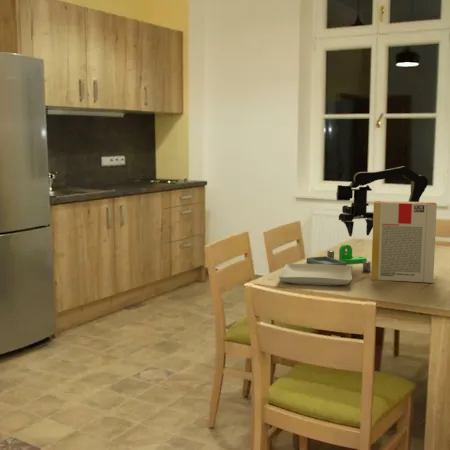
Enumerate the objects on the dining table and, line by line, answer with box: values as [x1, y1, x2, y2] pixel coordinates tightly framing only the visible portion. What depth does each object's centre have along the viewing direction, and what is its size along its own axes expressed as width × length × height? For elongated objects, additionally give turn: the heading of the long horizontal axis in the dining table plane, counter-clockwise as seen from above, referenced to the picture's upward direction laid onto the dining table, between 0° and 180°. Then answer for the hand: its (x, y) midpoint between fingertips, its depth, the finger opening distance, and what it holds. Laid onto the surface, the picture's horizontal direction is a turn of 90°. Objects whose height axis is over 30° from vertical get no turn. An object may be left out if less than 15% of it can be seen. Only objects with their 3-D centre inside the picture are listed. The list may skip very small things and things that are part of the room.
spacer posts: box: [326, 249, 372, 273], centre depth 267 cm, size 19×31×4 cm, turn 24°
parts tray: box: [306, 255, 347, 266], centre depth 266 cm, size 10×16×2 cm, turn 24°
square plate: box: [278, 263, 353, 287], centre depth 238 cm, size 27×27×4 cm
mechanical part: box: [338, 243, 368, 265], centre depth 272 cm, size 12×6×8 cm, turn 113°
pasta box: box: [370, 200, 438, 284], centre depth 236 cm, size 23×8×30 cm, turn 75°
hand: (359, 235), depth 270 cm, fingers open, 9 cm apart
